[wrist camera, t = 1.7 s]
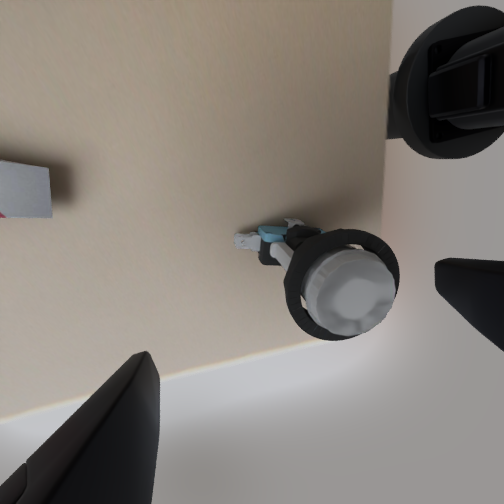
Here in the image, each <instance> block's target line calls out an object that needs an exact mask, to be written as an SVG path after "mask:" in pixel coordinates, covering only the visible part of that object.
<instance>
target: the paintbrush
mask: <svg viewBox="0 0 504 504" xmlns="http://www.w3.org/2000/svg"><path fill="white" fill-rule="evenodd" d="M0 218H53V216H52V204H51V192H50V180H49V168H45V167H39V166H33V165H28V164H22V163H17V162H11V161H6V160H0Z"/></svg>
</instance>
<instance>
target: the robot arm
mask: <svg viewBox="0 0 504 504" xmlns="http://www.w3.org/2000/svg"><path fill="white" fill-rule="evenodd" d="M435 48H437V53H436V52H435ZM427 56H428V105H429V139H430V141H431V142H432V143H440V142H444V141H448V140H452V139H456V138H460V137H464V136H468V135H472V134H476V133H480V132H484V131H488V130H492V129H495V128H499V127H503V126H504V27H500V28H495V29H491V30H486V31H481V32H477V33H472V34H468V35H463V36H459V37H454V38H449V39H445V40H440V41H437V42H435V43H433V44H431V45H430V46H429V48H428V53H427ZM437 133H438V138H436V135H437ZM434 268H435V287H436V290H437V291H438V293H439V294H440V295H441V296H442V297H443V298H444V299H445V300H446V301H447V302H448V303H449V304H450V305H451V306H453V307H454V308H455V309H456V310H457V311H458V312H459V313H460V314H461V315H462V316H463V317H464V318H465V319H466V320H467V321H468V322H469V323H470V324H471V325H472V326H473V327H475V328H476V329H477V330H478V331H479V332H480V333H481V334H483V335H484V336H485V337H486V338H488V339H489V340H490V341H492V342H493V343H494V344H495V345H496V346H498V347H499V348H500V349H501V350H502V351H504V261H494V260H478V259H462V258H447V259H443V260H440V261H438V262H436V263H435V267H434ZM159 431H160V378H159V373H158V371H157V369H156V366H155V364H154V362H153V360H152V357H151V355H150V354H149V352H147V351H144V352H140V353H137V354H134V355H132V356H131V357H130V358H129V359H128V360H127V361H126V362H125V363H124V364H123V365H122V366H121V367H120V368H119V369H118V370H117V371H116V372H115V373H114V374H113V375H112V376H111V377H110V378H109V379H108V380H107V381H106V382H105V383H104V384H103V385H102V386H101V387H100V388H99V389H98V390H97V391H96V392H95V393H94V394H93V395H92V396H91V397H90V398H89V399H88V400H87V401H86V402H85V403H84V404H83V405H82V406H81V407H80V408H79V409H78V410H77V411H76V412H75V413H74V414H73V415H72V416H71V417H70V418H69V419H68V420H67V421H66V422H65V423H64V424H63V425H62V426H61V427H60V428H58V429H57V431H55V433H54V434H52V435H51V436H50V438H48V439H47V440H46V441H45V443H43V445H41V446H40V447H39V448H38V449H37V451H35V452H34V454H32V455H31V456H30V457H29V458H28V459H27V461H26V463H24V464H22V465H21V466H20V467H19V468H18V469H17V470H16V471H15V472H14V473H13V474H12V475H11V476H10V477H9V478H8V479H7V480H6V481H5V482H4V483H3V484H2V485H1V486H0V504H151V502H152V493H153V485H154V477H155V468H156V459H157V451H158V442H159Z"/></svg>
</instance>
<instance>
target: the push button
mask: <svg viewBox="0 0 504 504" xmlns="http://www.w3.org/2000/svg"><path fill="white" fill-rule="evenodd" d="M283 220H285V221H286V222H288V227H280V226H258V232H250V234H238V233H236V234H235V235H234V244H235V245H236V248H240V249H251V251H258V253H259V257H258V258H259V260H260V262H261V263H262V264H263V265H279V266H282V267H283V268H284V269H285V271H286V272H287V273H286V276H285V278H284V287H285V294H286V303H287V306H288V309H289V312H290V314H291V315H292V317H293V319H294V320H295V322H296V323H297V325H298V326H299V327H300V328H301V329H302V330H303V331H305V332H306V333H308V334H309V335H311V336H313V337H316V338H319V339H322V340H329V341H338V340H345V339H349V338H353V337H355V336H358V335H360V334H362V333H366V332H367V331H369V330H370V329H372V328H373V327H375V326H376V325H378V324H379V323H381V321H382V320H383V319H384V318H385V317H386V315H387V313H388V312H389V310H390V309H391V307H392V304H393V301H394V299H395V297H396V294H397V291H398V286H399V278H400V274H399V266H398V262H397V259H396V257H395V254H394V253H393V251H392V250H391V248H390V247H389V246H388V245H387V244H386V243H385V242H384V241H383V240H382V239H380V238H379V237H377V236H375V235H373V234H370V233H368V232H365V231H361V230H356V229H337V230H333V231H329V232H324V231H323V230H322V229H320V228H311V227H308V226H304V223H303V222H302V221H300V220H299V219H292V218H284V219H283ZM293 220H294V221H293ZM242 240H244V241H243V242H241V241H242ZM348 244H357V245H361V246H362V247H363V249H364V250H362V249H355V248H354V247H352V246H350V245H348ZM242 245H244V246H242ZM300 296H302V297H303V298H304V300H305V301H306V305H307V310H306V309H305V308H303V307H302V304H301V297H300Z"/></svg>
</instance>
